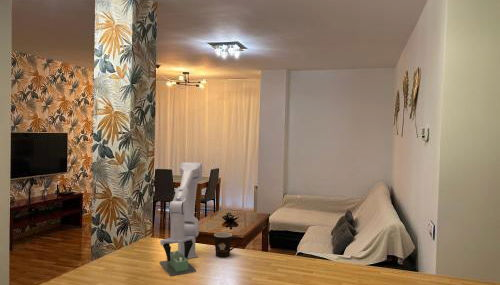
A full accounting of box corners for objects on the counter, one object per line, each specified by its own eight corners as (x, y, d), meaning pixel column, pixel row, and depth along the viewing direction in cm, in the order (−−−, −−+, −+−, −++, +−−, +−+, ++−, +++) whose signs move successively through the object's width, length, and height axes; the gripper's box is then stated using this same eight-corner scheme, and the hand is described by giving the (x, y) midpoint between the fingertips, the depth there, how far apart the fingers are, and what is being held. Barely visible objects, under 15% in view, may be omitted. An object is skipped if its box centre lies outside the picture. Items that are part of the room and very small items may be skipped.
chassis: (159, 263, 174) (159, 251, 174) (183, 260, 179) (183, 248, 179) (170, 276, 160) (170, 262, 159) (195, 271, 165) (196, 258, 165)
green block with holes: (167, 261, 174) (167, 252, 174) (178, 259, 177) (178, 250, 176) (176, 271, 162) (176, 262, 162) (188, 269, 164) (188, 260, 164)
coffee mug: (210, 256, 184) (210, 235, 184) (219, 251, 192) (220, 231, 192) (231, 261, 179) (231, 239, 178) (240, 255, 187) (241, 234, 186)
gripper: (163, 232, 162) (163, 264, 162) (197, 228, 168) (196, 259, 169) (159, 228, 168) (158, 259, 168) (191, 224, 175) (191, 255, 175)
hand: (177, 259), depth 169 cm, fingers open, 7 cm apart
